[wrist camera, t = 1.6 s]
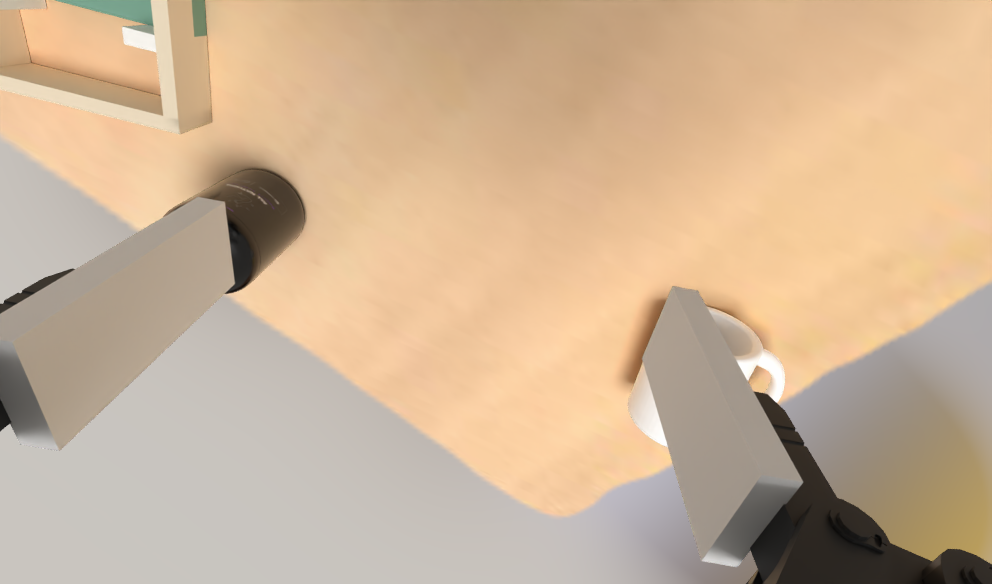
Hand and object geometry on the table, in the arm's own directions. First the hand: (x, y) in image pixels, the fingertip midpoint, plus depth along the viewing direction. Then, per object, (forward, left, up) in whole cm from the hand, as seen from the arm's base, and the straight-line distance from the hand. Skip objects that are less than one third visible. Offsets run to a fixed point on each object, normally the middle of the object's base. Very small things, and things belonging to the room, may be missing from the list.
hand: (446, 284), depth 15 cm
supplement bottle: (+12, -17, -25) cm, 32 cm away
